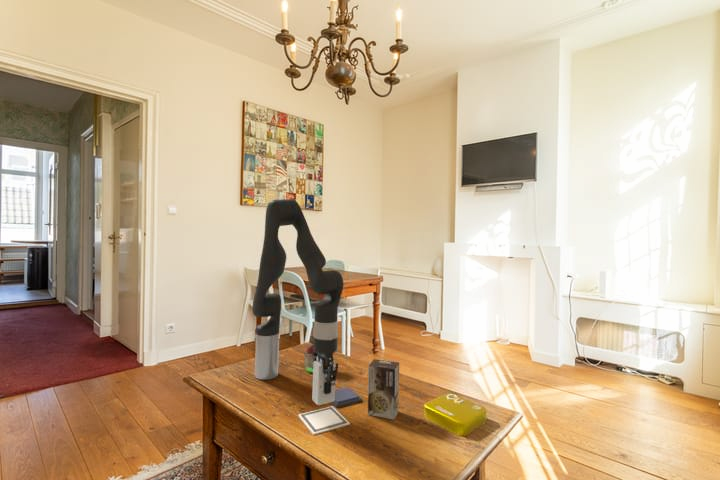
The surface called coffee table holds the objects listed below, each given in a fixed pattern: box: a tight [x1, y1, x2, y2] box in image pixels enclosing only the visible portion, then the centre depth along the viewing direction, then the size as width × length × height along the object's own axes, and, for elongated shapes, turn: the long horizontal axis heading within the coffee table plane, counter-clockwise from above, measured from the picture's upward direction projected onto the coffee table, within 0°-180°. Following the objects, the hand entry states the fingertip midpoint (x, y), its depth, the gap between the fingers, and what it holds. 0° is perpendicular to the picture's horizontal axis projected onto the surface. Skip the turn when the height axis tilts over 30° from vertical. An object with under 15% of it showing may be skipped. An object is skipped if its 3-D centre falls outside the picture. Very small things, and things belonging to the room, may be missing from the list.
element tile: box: [423, 392, 487, 437], centre depth 109 cm, size 15×15×5 cm
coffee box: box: [367, 358, 400, 420], centre depth 111 cm, size 9×6×16 cm
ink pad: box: [330, 387, 363, 409], centre depth 120 cm, size 10×10×2 cm
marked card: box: [297, 405, 351, 436], centre depth 106 cm, size 12×12×1 cm
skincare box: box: [311, 360, 337, 406], centre depth 106 cm, size 6×4×12 cm
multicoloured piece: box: [303, 333, 315, 374], centre depth 147 cm, size 12×13×15 cm
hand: (324, 390), depth 106 cm, fingers closed on skincare box, 4 cm apart
